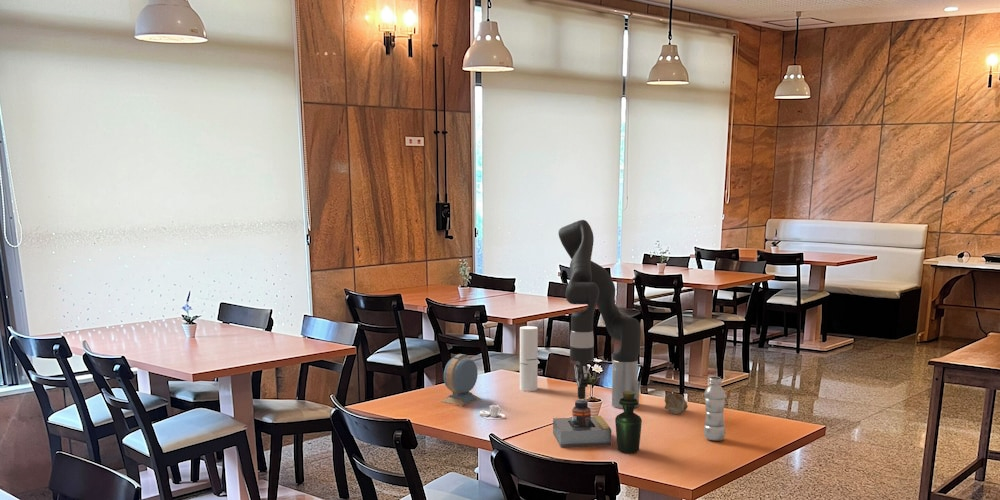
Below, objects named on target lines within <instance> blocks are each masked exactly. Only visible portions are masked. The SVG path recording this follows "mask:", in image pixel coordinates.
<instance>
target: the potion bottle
mask: <svg viewBox="0 0 1000 500" xmlns="http://www.w3.org/2000/svg"><path fill="white" fill-rule="evenodd" d="M634 396H635V392H633V391H623V397H624V398H621V399H620V401H619V404H621V405H622V406H623V408H622V410H623V411H622V412H621V413H619V414H618V415H616V417H615V419H614V423H615V432H616V433H615V434H616V435H615V436H616V449H617V450H618V451H619V452H620V453H622V454H631V455H632V454H637V453H638V452H640V444H641V433H642V432H641V431H642V423H643V422H642V421H643V420H642V417H641V416H640V415H638V414H637V413H635V412H634V411H635V408H636V407H635V406H636V405H638V401H637V399H634Z"/></svg>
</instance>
